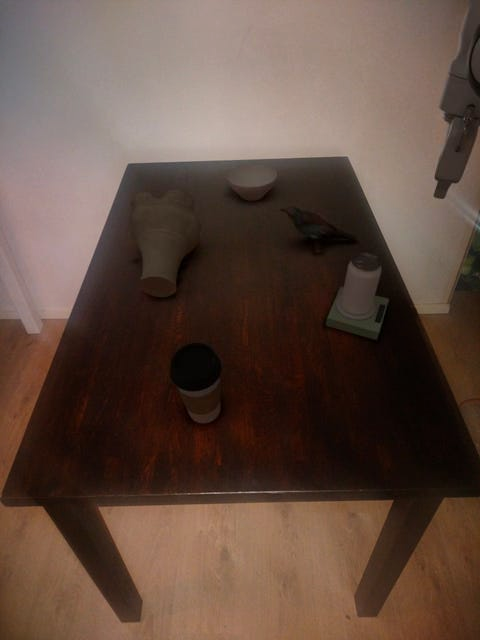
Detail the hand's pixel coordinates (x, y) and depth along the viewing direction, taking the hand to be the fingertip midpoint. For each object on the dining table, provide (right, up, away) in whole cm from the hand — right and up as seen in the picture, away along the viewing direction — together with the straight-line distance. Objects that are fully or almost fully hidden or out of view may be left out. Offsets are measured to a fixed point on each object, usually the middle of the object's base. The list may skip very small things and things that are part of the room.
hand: (441, 183), depth 67 cm
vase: (-55, -12, +33) cm, 65 cm away
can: (-10, -21, +17) cm, 29 cm away
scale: (-9, -23, +19) cm, 31 cm away
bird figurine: (-14, -3, +39) cm, 41 cm away
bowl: (-31, +17, +59) cm, 69 cm away
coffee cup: (-42, -40, +5) cm, 58 cm away
